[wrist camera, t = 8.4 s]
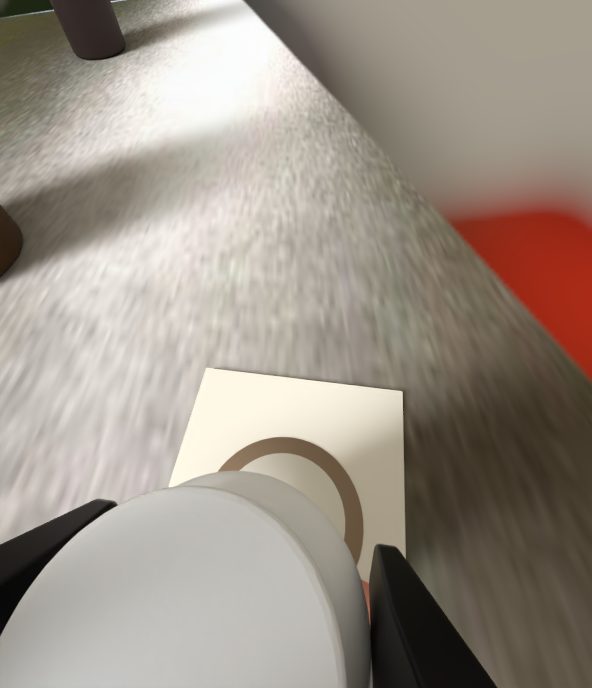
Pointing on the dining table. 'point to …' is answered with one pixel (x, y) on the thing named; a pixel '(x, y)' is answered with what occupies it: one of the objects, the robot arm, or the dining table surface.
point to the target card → (308, 449)
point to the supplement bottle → (196, 596)
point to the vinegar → (90, 27)
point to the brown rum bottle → (8, 240)
